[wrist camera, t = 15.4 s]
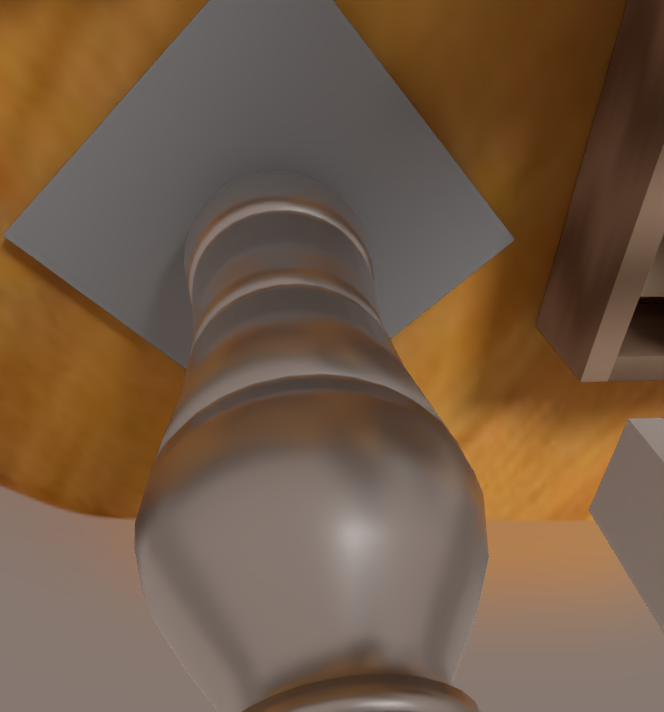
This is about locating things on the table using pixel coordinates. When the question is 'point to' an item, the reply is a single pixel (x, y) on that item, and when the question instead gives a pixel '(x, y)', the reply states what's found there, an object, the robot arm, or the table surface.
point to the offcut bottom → (655, 275)
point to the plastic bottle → (305, 477)
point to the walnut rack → (615, 220)
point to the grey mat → (256, 167)
